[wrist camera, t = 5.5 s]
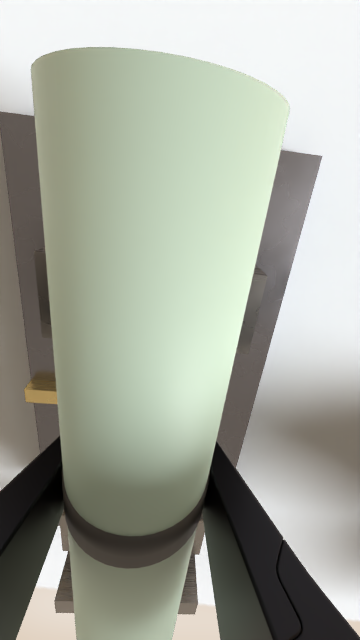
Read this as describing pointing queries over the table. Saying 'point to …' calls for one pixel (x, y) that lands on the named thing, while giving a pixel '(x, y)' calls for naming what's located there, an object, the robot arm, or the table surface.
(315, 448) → the table surface
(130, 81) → the tube
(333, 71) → the table surface
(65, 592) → the saddle plate
